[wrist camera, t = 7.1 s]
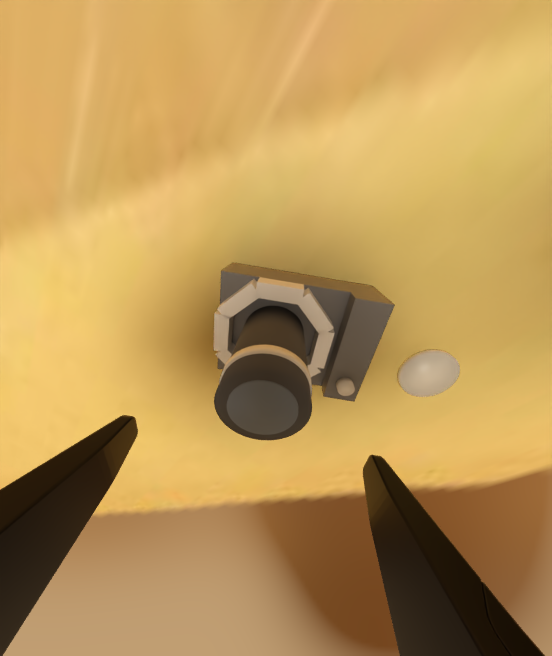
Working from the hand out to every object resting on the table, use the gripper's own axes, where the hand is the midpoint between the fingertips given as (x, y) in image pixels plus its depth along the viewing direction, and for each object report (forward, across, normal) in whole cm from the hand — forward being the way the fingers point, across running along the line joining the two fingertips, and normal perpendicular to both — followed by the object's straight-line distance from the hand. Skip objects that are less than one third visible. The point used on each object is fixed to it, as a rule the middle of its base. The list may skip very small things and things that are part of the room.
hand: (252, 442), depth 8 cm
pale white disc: (+12, -15, +3) cm, 19 cm away
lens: (+9, 0, 0) cm, 9 cm away
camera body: (+12, -2, 0) cm, 12 cm away
